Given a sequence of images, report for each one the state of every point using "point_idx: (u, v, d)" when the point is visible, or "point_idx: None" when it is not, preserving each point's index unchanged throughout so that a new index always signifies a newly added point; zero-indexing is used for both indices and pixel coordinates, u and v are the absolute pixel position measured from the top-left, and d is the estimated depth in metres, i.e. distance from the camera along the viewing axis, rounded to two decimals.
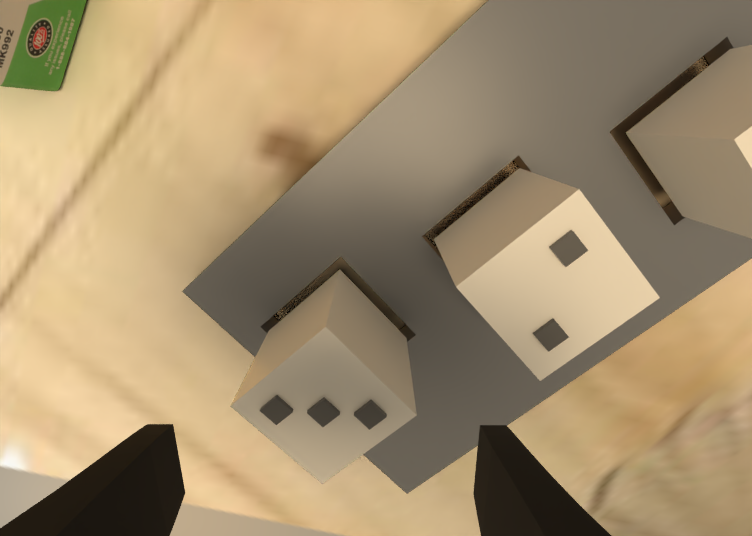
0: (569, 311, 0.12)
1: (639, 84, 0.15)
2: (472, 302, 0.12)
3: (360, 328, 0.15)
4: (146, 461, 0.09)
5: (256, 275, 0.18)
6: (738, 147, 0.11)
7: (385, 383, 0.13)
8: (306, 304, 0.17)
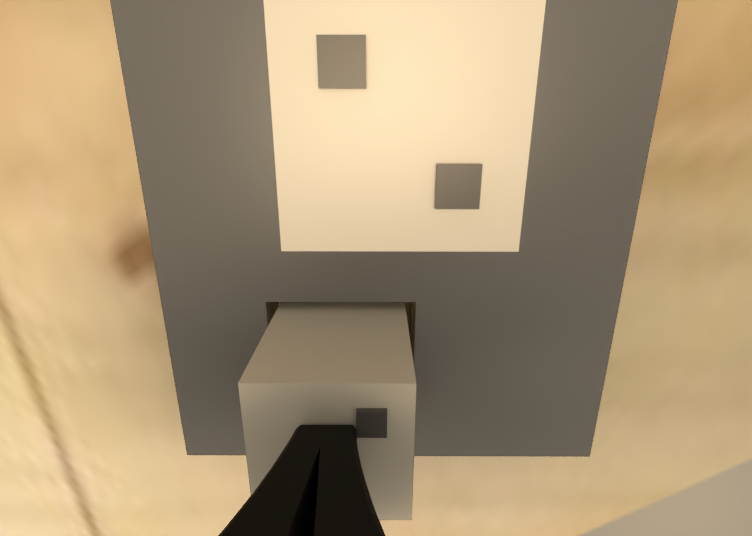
0: (447, 133, 0.07)
1: None
2: (320, 248, 0.07)
3: (310, 342, 0.12)
4: (319, 461, 0.09)
5: (221, 386, 0.14)
6: None
7: (353, 381, 0.10)
8: None
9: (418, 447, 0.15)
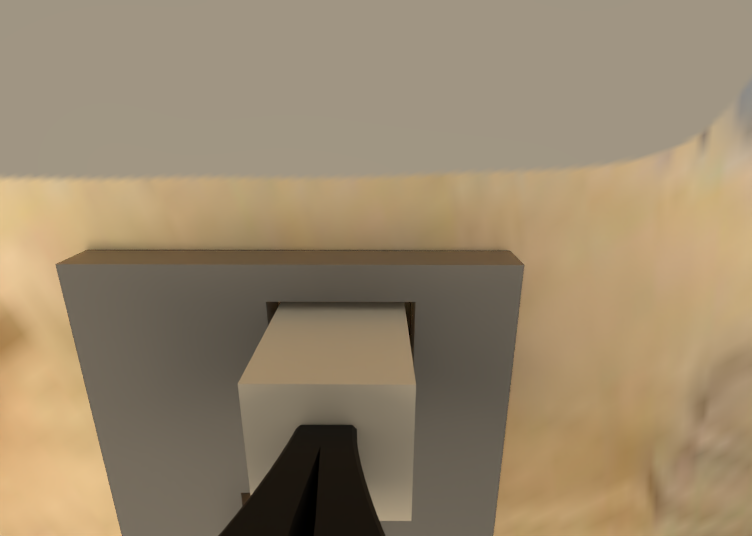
0: None
1: None
2: None
3: None
4: (318, 461, 0.09)
5: None
6: None
7: None
8: None
9: None
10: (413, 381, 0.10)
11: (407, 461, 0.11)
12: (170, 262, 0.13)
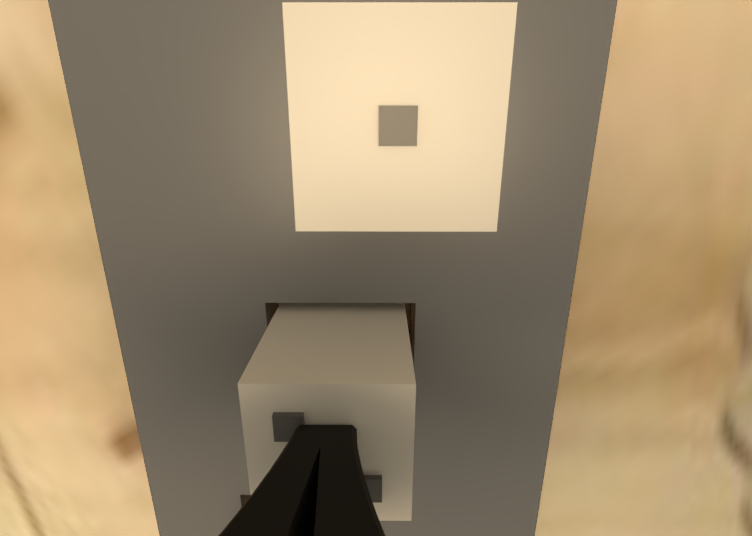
0: None
1: (282, 149, 0.12)
2: None
3: None
4: (319, 461, 0.09)
5: None
6: (308, 230, 0.09)
7: None
8: None
9: None
10: (512, 3, 0.08)
11: (497, 134, 0.08)
12: None
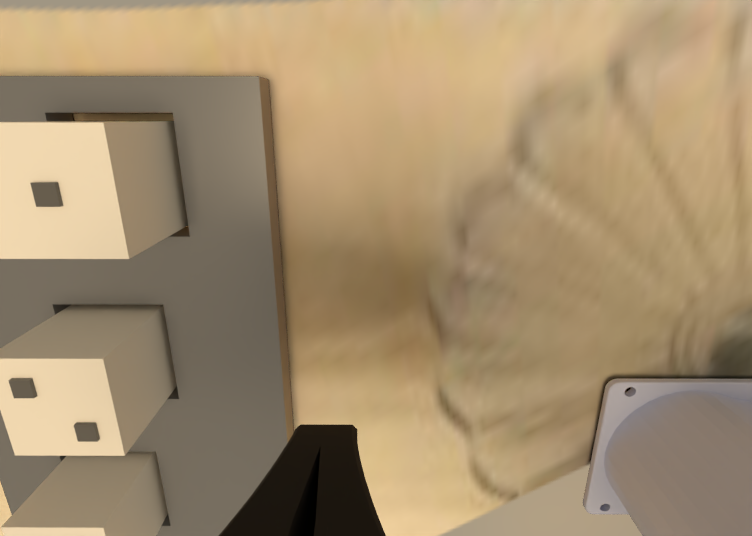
0: (77, 411, 0.15)
1: None
2: (32, 454, 0.16)
3: (67, 488, 0.19)
4: (319, 461, 0.09)
5: None
6: (8, 258, 0.14)
7: (68, 525, 0.17)
8: None
9: None
10: (104, 122, 0.12)
11: (113, 199, 0.13)
12: None
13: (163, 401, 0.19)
